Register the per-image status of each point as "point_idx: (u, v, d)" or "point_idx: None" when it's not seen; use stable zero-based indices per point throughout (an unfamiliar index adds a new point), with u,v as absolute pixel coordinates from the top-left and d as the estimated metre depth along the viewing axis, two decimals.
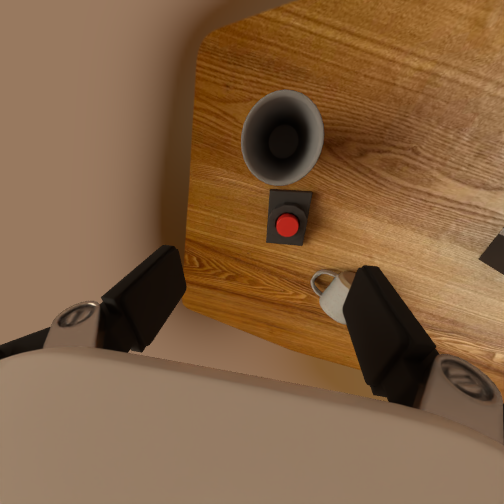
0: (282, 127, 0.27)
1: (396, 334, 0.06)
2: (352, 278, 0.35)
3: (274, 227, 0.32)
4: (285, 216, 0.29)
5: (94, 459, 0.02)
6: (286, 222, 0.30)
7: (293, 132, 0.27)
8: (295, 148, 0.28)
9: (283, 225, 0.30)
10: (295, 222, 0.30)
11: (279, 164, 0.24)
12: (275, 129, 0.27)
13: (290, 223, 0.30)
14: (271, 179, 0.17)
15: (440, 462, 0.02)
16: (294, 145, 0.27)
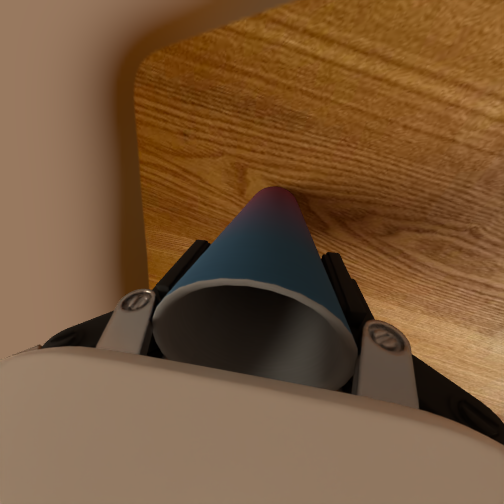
0: None
1: None
2: None
3: None
4: None
5: (95, 459, 0.02)
6: None
7: None
8: None
9: None
10: None
11: None
12: None
13: None
14: None
15: (440, 462, 0.02)
16: None
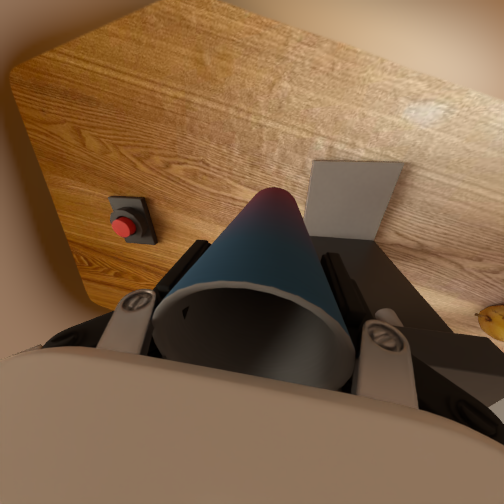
0: None
1: (338, 305, 0.06)
2: None
3: None
4: (115, 220, 0.34)
5: (95, 459, 0.02)
6: (118, 224, 0.34)
7: None
8: None
9: (117, 227, 0.35)
10: (124, 224, 0.34)
11: None
12: None
13: (121, 225, 0.34)
14: None
15: (440, 462, 0.02)
16: None
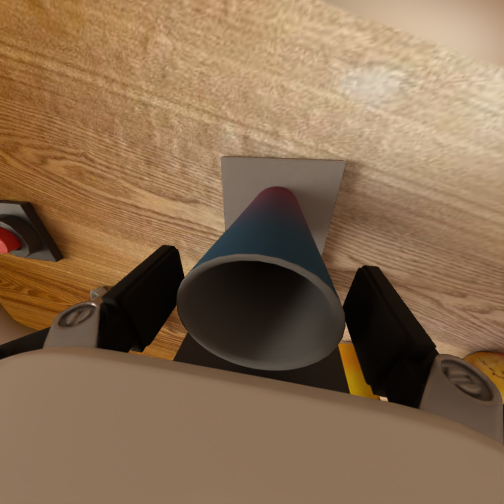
0: None
1: (396, 334, 0.06)
2: None
3: None
4: None
5: (94, 460, 0.02)
6: None
7: None
8: None
9: None
10: None
11: None
12: None
13: None
14: (243, 352, 0.09)
15: (440, 462, 0.02)
16: None
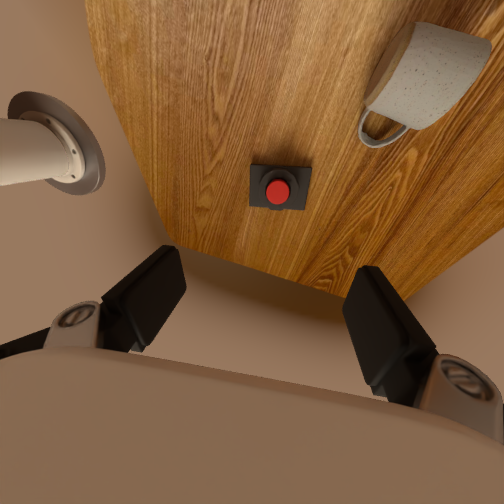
0: None
1: (396, 334, 0.06)
2: (374, 79, 0.22)
3: (281, 204, 0.31)
4: None
5: (94, 459, 0.02)
6: (272, 194, 0.29)
7: None
8: None
9: (275, 197, 0.29)
10: (272, 184, 0.28)
11: None
12: None
13: (273, 189, 0.29)
14: None
15: (440, 462, 0.02)
16: None
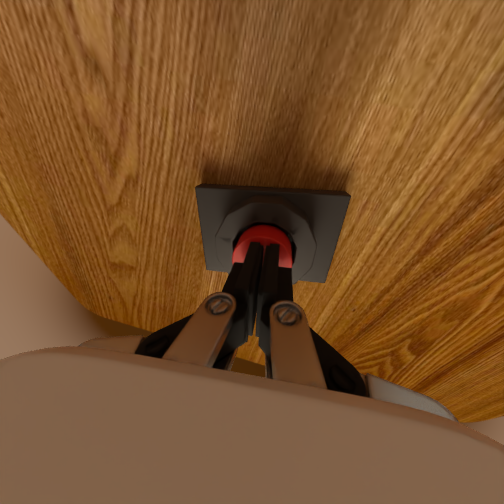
0: None
1: (259, 288, 0.07)
2: None
3: None
4: None
5: (95, 459, 0.02)
6: None
7: None
8: None
9: None
10: (245, 244, 0.10)
11: None
12: None
13: None
14: None
15: (440, 462, 0.02)
16: None
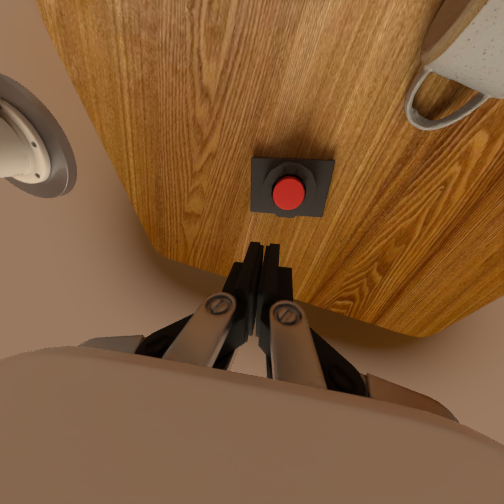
0: None
1: (259, 288, 0.07)
2: (444, 19, 0.14)
3: (293, 209, 0.23)
4: (273, 198, 0.22)
5: (95, 459, 0.02)
6: (281, 196, 0.21)
7: None
8: None
9: (285, 200, 0.22)
10: (281, 183, 0.21)
11: None
12: None
13: (282, 190, 0.21)
14: None
15: (440, 462, 0.02)
16: None
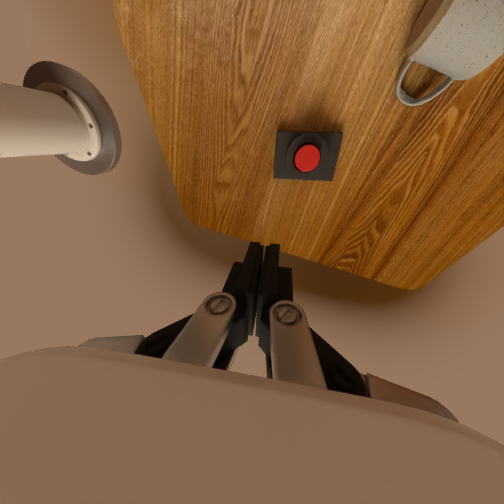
0: None
1: (259, 288, 0.07)
2: (421, 24, 0.20)
3: (309, 173, 0.30)
4: (295, 161, 0.28)
5: (95, 459, 0.02)
6: (301, 160, 0.28)
7: None
8: None
9: (305, 163, 0.28)
10: (302, 149, 0.27)
11: None
12: None
13: (303, 155, 0.27)
14: None
15: (440, 462, 0.02)
16: None
